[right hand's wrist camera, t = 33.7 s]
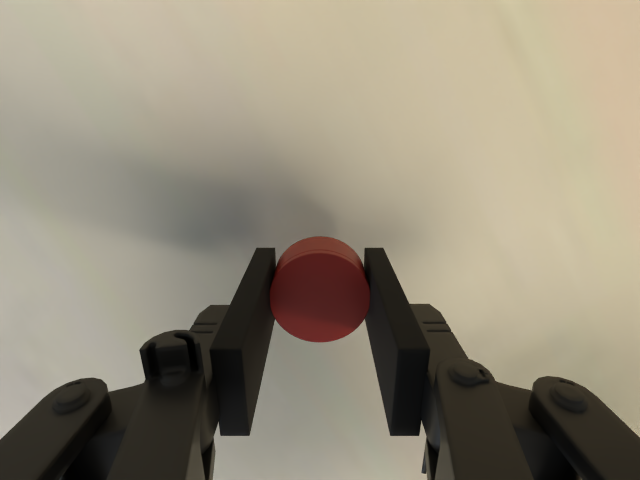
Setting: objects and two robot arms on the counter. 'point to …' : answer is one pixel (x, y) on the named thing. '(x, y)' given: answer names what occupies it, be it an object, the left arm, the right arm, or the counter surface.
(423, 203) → the counter surface
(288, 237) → the counter surface
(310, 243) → the cap
